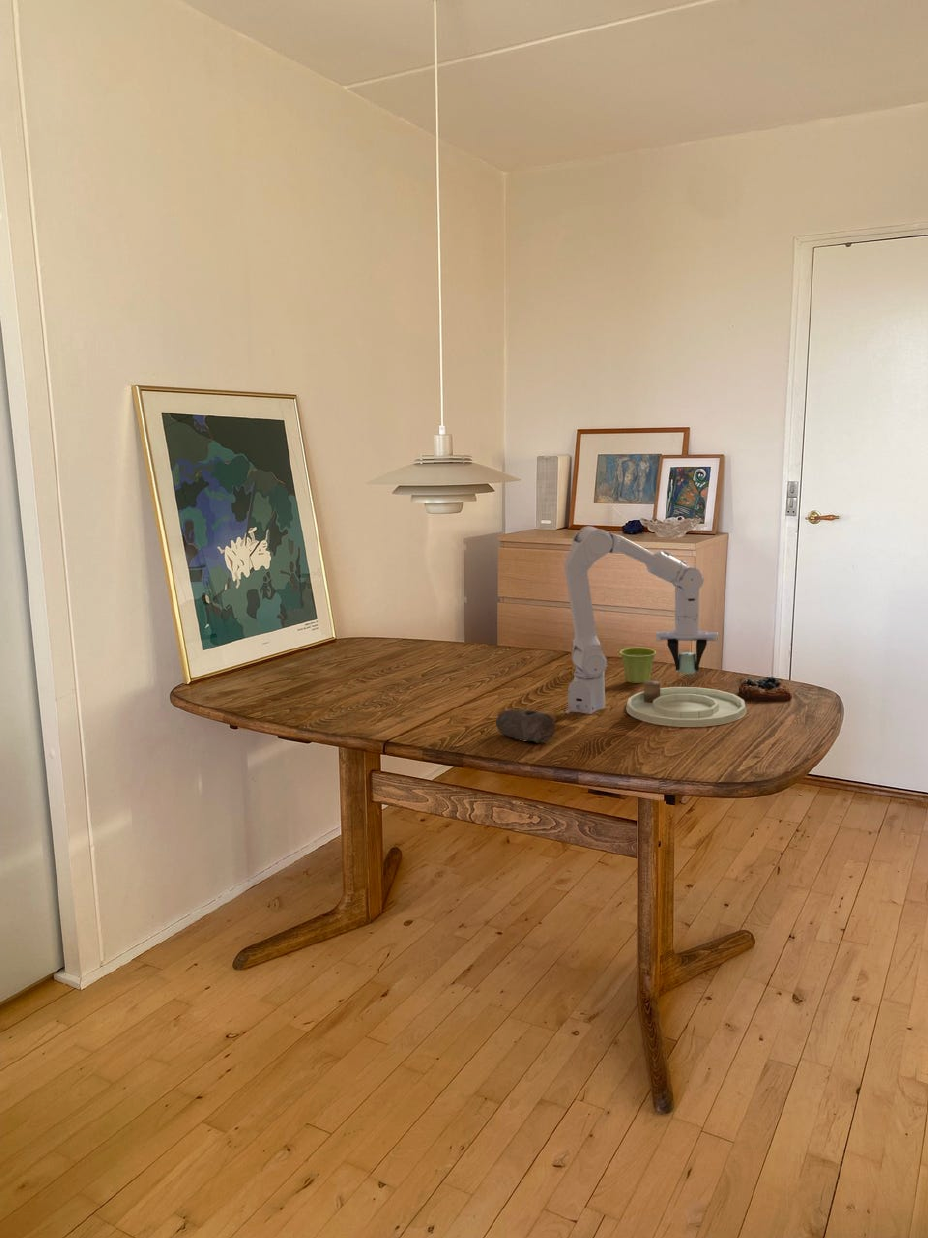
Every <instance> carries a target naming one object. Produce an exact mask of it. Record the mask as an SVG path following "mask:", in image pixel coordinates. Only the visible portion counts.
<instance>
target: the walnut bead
mask: <svg viewBox="0 0 928 1238" xmlns="http://www.w3.org/2000/svg"><path fill="white" fill-rule="evenodd" d="M660 688H661V681H658V680H650V681H645V682H644V683H643V691H644V702H647V703H653V700H655V699H656V698H658V697H660Z"/></svg>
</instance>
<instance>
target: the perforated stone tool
mask: <svg viewBox="0 0 928 1238" xmlns="http://www.w3.org/2000/svg"><path fill="white" fill-rule="evenodd" d="M495 726H496V728H497V730H498V731H499V732H500V733H501V734H502V735H504V736H505V735H506V736H505V737H507V736H508V738H513V737H514V738H517V739H521V740H526V741H528V742H534V743H535V742H536V743H535V744H540V743H539V742H542V743H543V742H548V741H549V740H551V738H552V737H553V736H554V734H555V723H554V718H553V717H552V716H551V715H550V714H548V713H545V712H541V711H540V712H539V711H536V710H531V709H530V710H529V709H508V710H505V711H502V712H500V713H498V715H497V718H496V720H495ZM514 738H513V739H514Z"/></svg>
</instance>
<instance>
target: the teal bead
mask: <svg viewBox="0 0 928 1238" xmlns="http://www.w3.org/2000/svg"><path fill="white" fill-rule="evenodd" d="M678 656H679V670H678V673H679V674H682V675H692V674H696V672H697V671H695V665H696V652H690V651H688V652H687V651H685V652H684V651H683V652H678Z"/></svg>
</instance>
